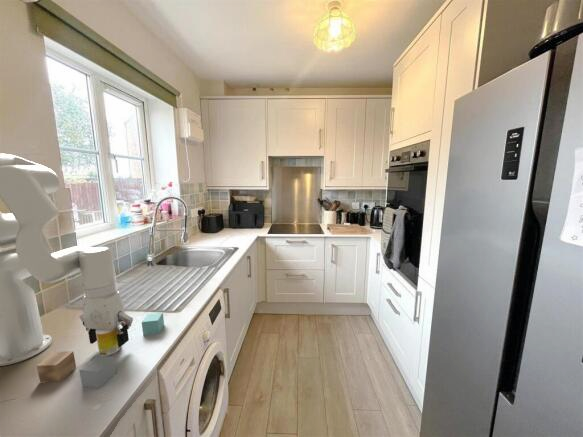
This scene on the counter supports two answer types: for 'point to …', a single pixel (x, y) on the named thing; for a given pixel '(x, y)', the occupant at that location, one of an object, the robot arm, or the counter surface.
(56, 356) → the walnut block
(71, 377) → the counter surface
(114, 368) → the slate block
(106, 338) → the supplement bottle
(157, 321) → the teal block
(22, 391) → the counter surface
